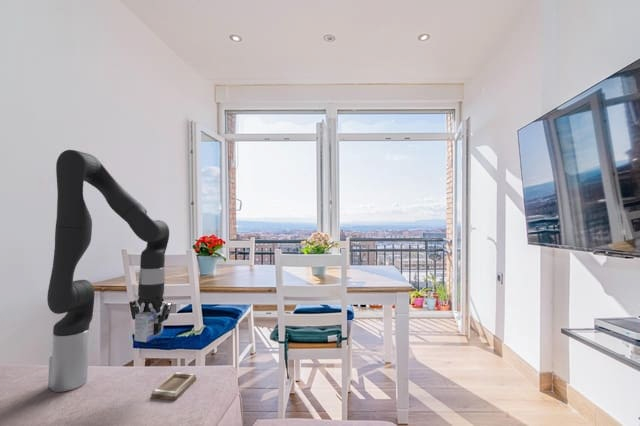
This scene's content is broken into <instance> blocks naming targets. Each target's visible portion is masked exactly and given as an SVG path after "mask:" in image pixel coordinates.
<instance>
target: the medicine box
mask: <svg viewBox="0 0 640 426" xmlns="http://www.w3.org/2000/svg"><path fill="white" fill-rule="evenodd" d="M162 308H163V307H161V310H162V311H163V309H162ZM158 312H159V310H158V311H157V312H156V313H158ZM154 323H155V321H154V317H153V316H152V313H151V312H141V313H138V314H136V315H135V319H134V338H133V340H134V341H135V342H141V343H147V342H150V341H151V340H154V339H155V338H157V337H159V336H161V335H163V333H164V321H163V322H162V323H161V332H160V333H159V334H157V335H154Z"/></svg>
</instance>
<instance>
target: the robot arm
mask: <svg viewBox="0 0 640 426" xmlns="http://www.w3.org/2000/svg"><path fill="white" fill-rule="evenodd" d="M55 171H56V172H55V173H56V186H57V187H56V189H57V198H56V199H57V201H56V204H57V205H56V219H55V221H56V222H55V228H54V230H55V231H54V249H53V250H54V251H53V259H52V260H53V262H52V269H51V274H50V279H49V283H48V289H47V300H46V301H47V306H48V308H49V310H50V311H51V312H52V313H53V314H56V315H61V314H62V315H63V314H65V313H66V314H65V315H64V316H63V317H62V318H61V319H60V320H59V321H57V322H56V323H55V324H54V325H53V330H52V351H51V352H52V355H51V356H50V357H49V360H48V379H47V380H48V381H47V382H48V383H47V384H48V385H47V388H49V389H50V390H51V391H52V392H54V393H55V392H56V393H61V392H62V393H63V392H68V391H72V390H75V389H78V388H79V387H82V386H83V385H85V384H86V383H87V381H88V369H89V351H90V350H89V348H90V347H89V346H90V344H89V343H90V326H91V325H90V324H91V322H92V320H93V316H94V305H95V289H94V286H93V284H92V282H91V281H90V280H87V279H77V280H74V275H75V270H76V267H77V266H78V263H79V262H80V260H81V259H82V257H83V255H84V254H85V252H87V250H88V248H89V246H90V244H91V241H92V233H93V219H92V217H91V213H90V211H89V209H88V207H87V204H86V201H85V199H84V182H86V183H88V184H89V185H91V186H92V187H93V188H95V189H97V191H99V192H100V193H101V194H102V196H103V198H104V199H105V201H106V202H107V204H108V205H109V206H108V207H110V208H111V209H112V211H114V212H115V214H117V215H118V216H119V217H120V218H121V219H122V220H124V221H125V222H126V224H128V226H129V228H130V229H131V230H132V232H133V233H134V234H135V235H136V237H138V239H140V240H141V241H143V242H145V243H146V246H145V248H144V250H142V251H141V254H140V262H139V263H140V265H139V272H138V284H137V285H138V287H137V291H138V292H137V296H138V298H137V299H134V300H132V301H129V303H128V304H129V309H130V315H131V318H132V320H134V321H135V315H136V314H138V313H141V312H151V313H152V316H153V317H154V321H155V323H154V335H157V334H159V333H160V332H161V323H162V322H163V323H164V322H165V321H167V320H168V319H169V316H170V312H171V309H172V305H173V303H172V302H168V301H167V302H166V301H165V299H164V293H165V281H166V280H165V279H166V277H165V276H166V273H165V261H166V260H165V259H166V258H165V257H166V255H165V254H166V251H167V248H168V243H169V239H170V228H169V225H168V224H167V222H165V221H164V220H160V219H159V220H154V219H152V218H151V217H150V216H149V215H148V213H147V212H148V210H147V208H145V207H144V206H143V205H142V203H140V202H139V201H138V200H137V199H135V198H134V197H133V196H132V195H131V194H130V193H129V192H128V191H127V190H125V189H124V187H122V185H120V184H119V182H118V181H117V180H116V179H115V178H114V176H112V175H111V173H110V172H109V171H108V170H107V168H106V167H105V166H104V164H102V162H101V161H100V160H99V158H97V157H96V156H94V155H93V154H90V153H86V152H83V151H79V150H76V149H75V150H74V149H67V150H66V149H65V150H64V151H62V152H61V153H60V154H59V155H58V157H57V160H56V165H55ZM161 308H162V309H163V311H162V310H161ZM158 310H159V312H158V313H156V312H157V311H158Z"/></svg>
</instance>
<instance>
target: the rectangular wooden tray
mask: <svg viewBox="0 0 640 426" xmlns="http://www.w3.org/2000/svg"><path fill="white" fill-rule="evenodd" d="M195 381H197V376H196V373H189V372H188V373H187V372H177V371H174V372H173V373H172V374H171V375H169V376H168V377H167V378H165V380H163V381H162V382H161V383H159V385H157V386H156V387H154V389H153V390H152V391H151V392H152V393H151V394H150V397H151V398H152V397H154V398H153V399H161V398H164V399H163V400H170V399H171V400H172V401H177V400H178V398H179V397H181V395H182V394H184V393H185V391H186V390H188V388H189V387H190V386H192V385H193V383H195Z"/></svg>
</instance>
